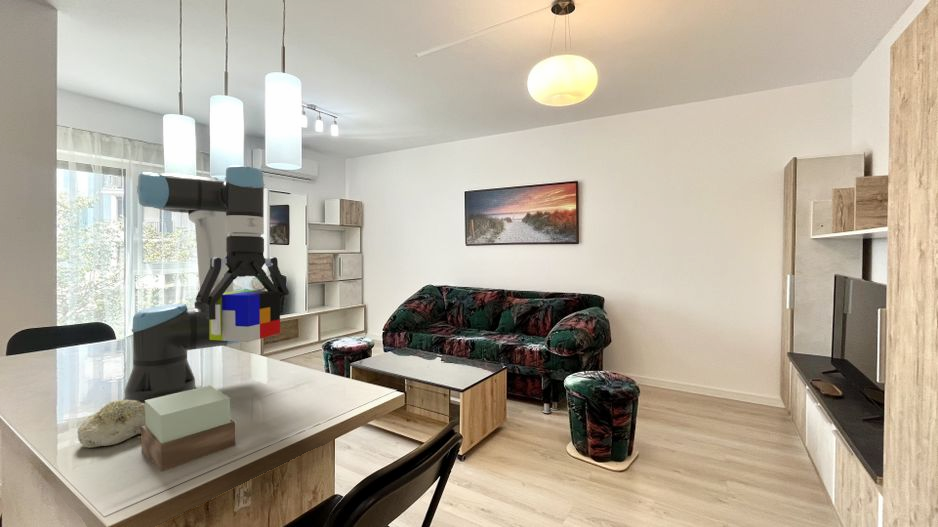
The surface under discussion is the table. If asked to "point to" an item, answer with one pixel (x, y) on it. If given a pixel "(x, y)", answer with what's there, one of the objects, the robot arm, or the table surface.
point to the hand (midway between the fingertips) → (246, 329)
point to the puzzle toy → (248, 315)
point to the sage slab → (186, 413)
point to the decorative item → (113, 424)
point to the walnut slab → (187, 445)
